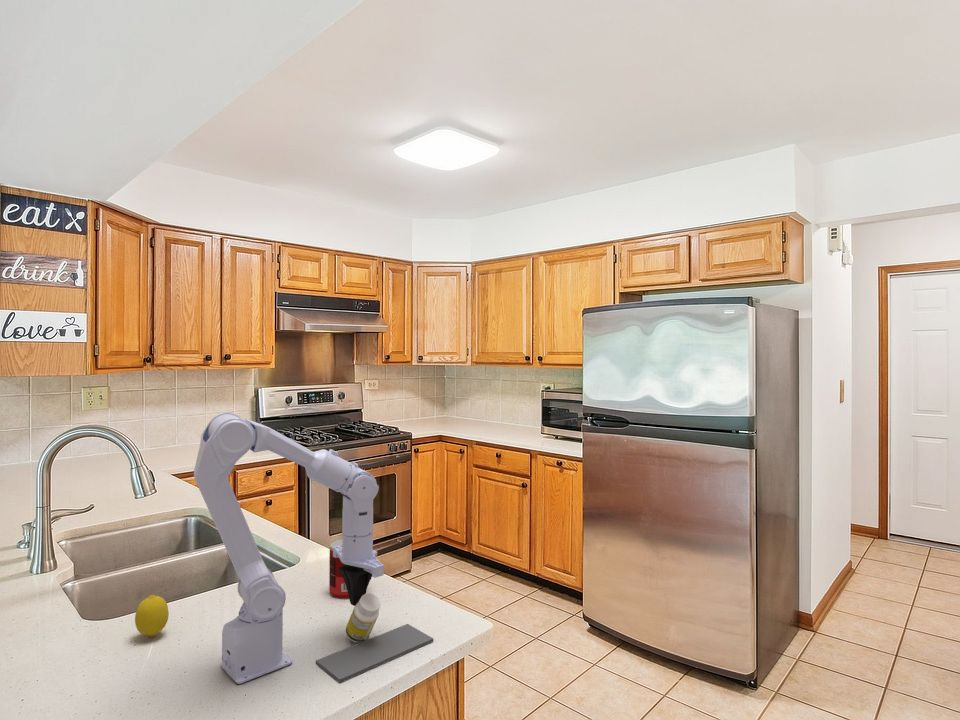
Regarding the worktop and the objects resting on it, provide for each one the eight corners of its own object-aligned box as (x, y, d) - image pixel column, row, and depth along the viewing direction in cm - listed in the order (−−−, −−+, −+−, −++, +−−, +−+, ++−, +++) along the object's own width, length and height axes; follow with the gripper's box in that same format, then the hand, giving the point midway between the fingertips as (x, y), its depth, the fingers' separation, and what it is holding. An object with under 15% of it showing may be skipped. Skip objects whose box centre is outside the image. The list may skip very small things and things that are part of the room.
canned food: (372, 589, 132) (372, 542, 132) (346, 602, 126) (346, 552, 126) (347, 582, 137) (348, 535, 136) (321, 594, 130) (322, 545, 130)
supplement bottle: (360, 618, 113) (373, 587, 110) (373, 637, 111) (388, 606, 107) (339, 627, 109) (353, 596, 106) (353, 647, 107) (367, 616, 104)
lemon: (127, 641, 108) (128, 598, 108) (153, 627, 113) (154, 587, 113) (149, 646, 106) (150, 603, 106) (175, 633, 111) (175, 591, 111)
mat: (339, 683, 95) (339, 679, 95) (315, 663, 101) (315, 660, 101) (433, 641, 109) (433, 638, 109) (407, 626, 115) (407, 623, 115)
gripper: (397, 537, 107) (397, 609, 108) (354, 519, 118) (354, 586, 118) (365, 545, 102) (364, 621, 103) (323, 527, 113) (323, 596, 113)
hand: (357, 603), depth 110 cm, fingers closed
